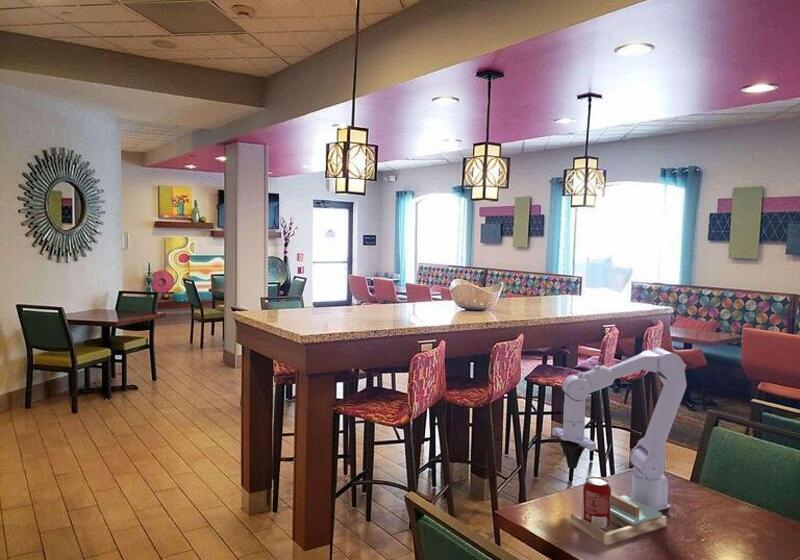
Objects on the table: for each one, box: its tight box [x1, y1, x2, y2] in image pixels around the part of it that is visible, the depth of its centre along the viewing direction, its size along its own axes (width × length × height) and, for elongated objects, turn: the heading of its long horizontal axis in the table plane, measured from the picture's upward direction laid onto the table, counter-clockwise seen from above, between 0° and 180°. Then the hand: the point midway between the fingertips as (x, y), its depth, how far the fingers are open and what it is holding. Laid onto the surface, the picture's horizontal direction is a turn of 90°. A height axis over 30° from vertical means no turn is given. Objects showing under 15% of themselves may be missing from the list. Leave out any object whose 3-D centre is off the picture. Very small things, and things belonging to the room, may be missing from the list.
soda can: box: [581, 475, 612, 531], centre depth 148 cm, size 7×7×12 cm
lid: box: [610, 492, 663, 525], centre depth 152 cm, size 11×12×3 cm
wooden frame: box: [570, 513, 667, 546], centre depth 150 cm, size 22×13×2 cm, turn 118°
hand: (572, 467), depth 160 cm, fingers closed
